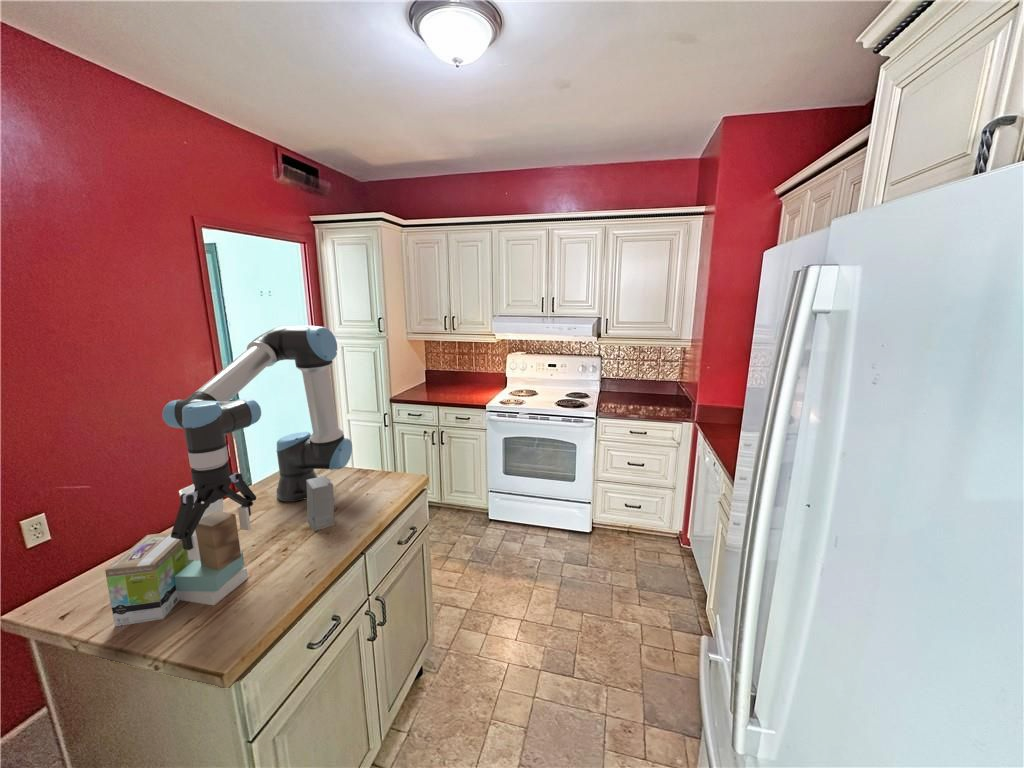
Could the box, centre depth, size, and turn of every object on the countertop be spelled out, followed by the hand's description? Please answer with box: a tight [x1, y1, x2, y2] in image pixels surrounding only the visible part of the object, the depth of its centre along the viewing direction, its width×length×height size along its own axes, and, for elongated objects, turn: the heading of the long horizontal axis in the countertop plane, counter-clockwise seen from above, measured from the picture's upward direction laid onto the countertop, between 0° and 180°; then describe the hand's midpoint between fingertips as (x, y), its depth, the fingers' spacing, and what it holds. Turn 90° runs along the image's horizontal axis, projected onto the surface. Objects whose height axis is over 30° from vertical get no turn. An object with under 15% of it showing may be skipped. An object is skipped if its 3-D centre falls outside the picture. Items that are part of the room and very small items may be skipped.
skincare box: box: [306, 475, 335, 532], centre depth 132 cm, size 8×7×16 cm
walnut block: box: [195, 511, 242, 570], centre depth 101 cm, size 6×6×12 cm
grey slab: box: [178, 566, 248, 606], centre depth 102 cm, size 10×10×4 cm
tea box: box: [104, 531, 193, 627], centre depth 97 cm, size 15×10×15 cm, turn 13°
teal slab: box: [174, 551, 245, 591], centre depth 102 cm, size 10×10×4 cm
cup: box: [178, 483, 224, 534], centre depth 124 cm, size 11×10×17 cm
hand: (221, 543), depth 101 cm, fingers open, 13 cm apart
